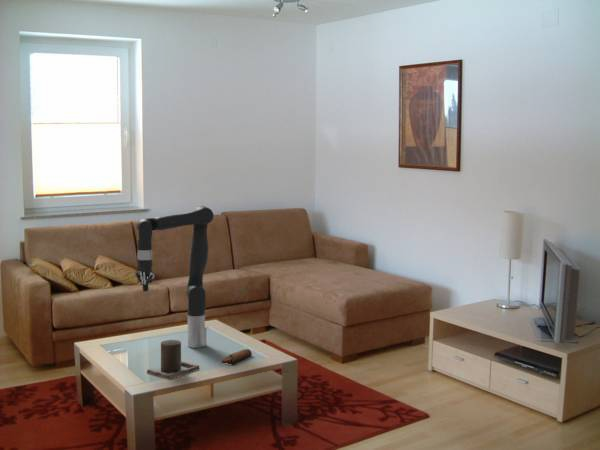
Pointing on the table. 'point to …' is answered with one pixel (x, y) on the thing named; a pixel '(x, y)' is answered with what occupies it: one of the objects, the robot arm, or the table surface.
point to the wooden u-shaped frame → (191, 368)
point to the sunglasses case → (237, 356)
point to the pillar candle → (171, 356)
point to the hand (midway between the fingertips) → (145, 291)
